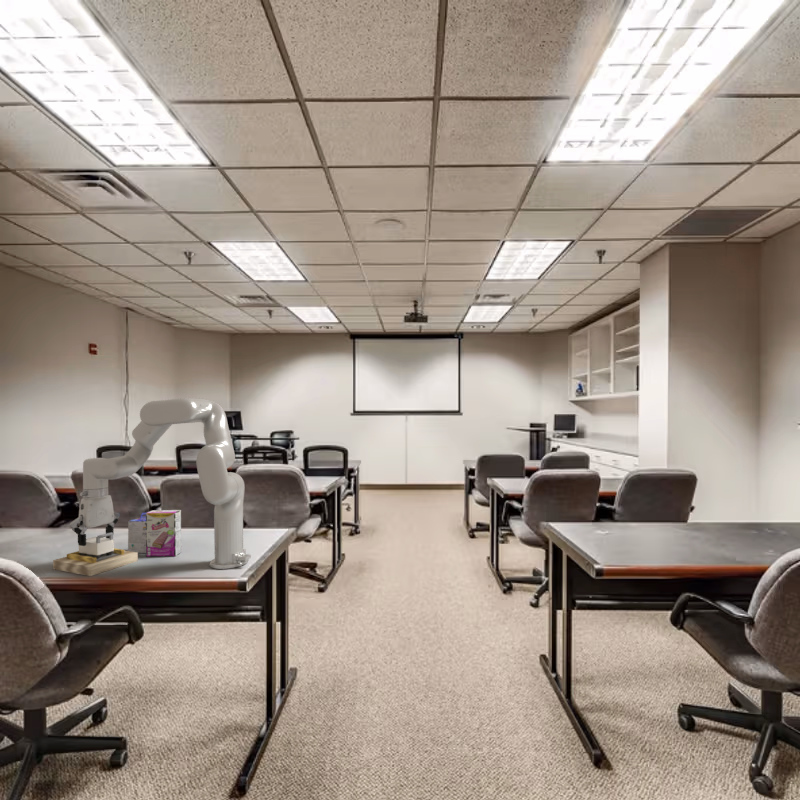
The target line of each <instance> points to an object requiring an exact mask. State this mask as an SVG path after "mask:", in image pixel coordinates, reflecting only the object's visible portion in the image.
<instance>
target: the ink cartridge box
mask: <svg viewBox="0 0 800 800" xmlns="http://www.w3.org/2000/svg"><path fill="white" fill-rule="evenodd" d="M146 513H147V512H142V513H141V515H140V517H139V518H134V519H130V520H128V522H127V527H128V528H127V529H128V533H127V534H128V535H127V536H128V537H127V551H131V552H137V553H138V554H139V553H140V554H141V553H142V554H144V553H145V554H146Z"/></svg>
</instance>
